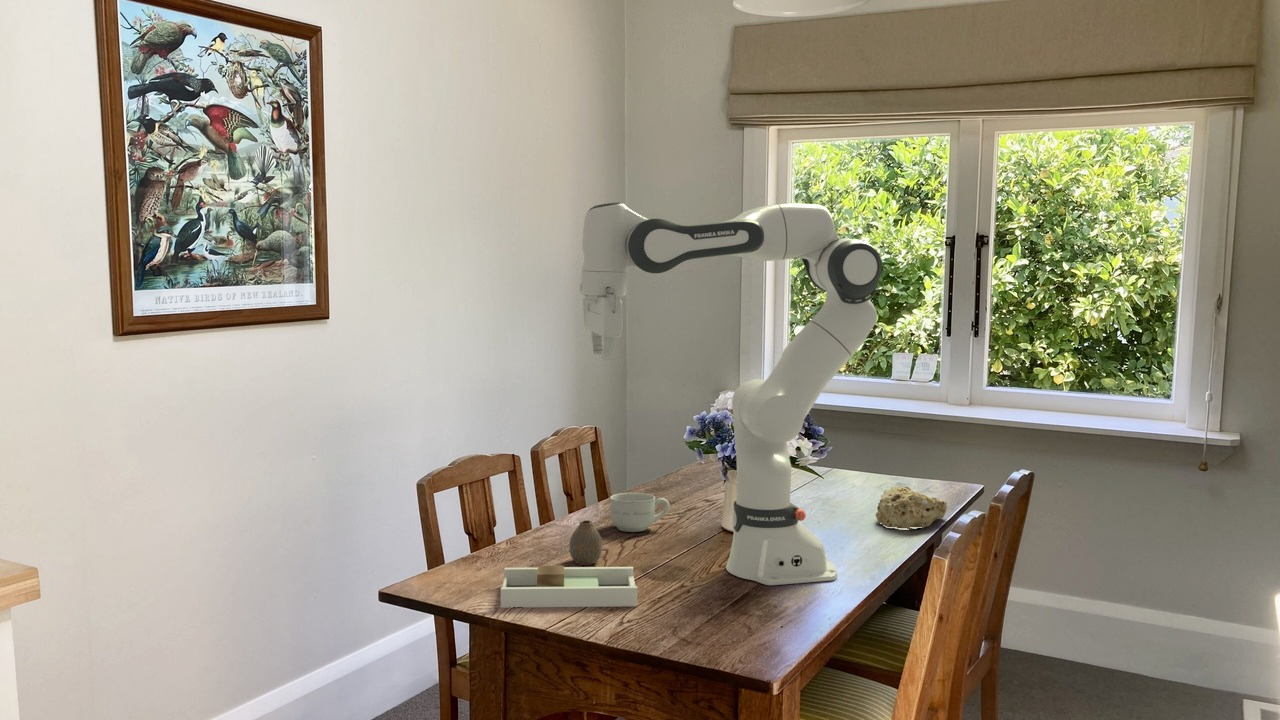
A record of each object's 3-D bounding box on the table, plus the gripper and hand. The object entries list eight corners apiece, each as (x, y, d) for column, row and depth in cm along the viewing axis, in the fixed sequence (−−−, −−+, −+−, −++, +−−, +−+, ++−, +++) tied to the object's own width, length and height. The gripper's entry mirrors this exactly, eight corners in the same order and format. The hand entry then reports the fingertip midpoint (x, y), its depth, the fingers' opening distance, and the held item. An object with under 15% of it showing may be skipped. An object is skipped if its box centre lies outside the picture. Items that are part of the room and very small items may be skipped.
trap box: (632, 584, 191) (633, 566, 191) (637, 606, 180) (637, 587, 179) (504, 585, 189) (504, 567, 189) (500, 607, 178) (500, 589, 177)
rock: (891, 511, 253) (903, 475, 251) (944, 534, 245) (957, 497, 243) (862, 520, 235) (875, 482, 234) (918, 545, 228) (932, 505, 226)
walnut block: (564, 580, 187) (564, 565, 186) (564, 589, 182) (564, 574, 181) (537, 581, 186) (537, 565, 186) (537, 590, 181) (537, 574, 181)
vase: (572, 568, 200) (573, 527, 199) (566, 558, 206) (566, 518, 205) (605, 566, 202) (606, 525, 201) (597, 556, 208) (598, 516, 207)
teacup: (604, 533, 225) (604, 499, 224) (616, 521, 236) (616, 488, 235) (662, 538, 222) (663, 504, 221) (672, 525, 232) (673, 493, 232)
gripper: (631, 289, 181) (629, 362, 182) (609, 284, 201) (607, 351, 202) (598, 288, 179) (596, 362, 181) (578, 283, 199) (577, 351, 201)
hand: (601, 356), depth 192 cm, fingers open, 8 cm apart
